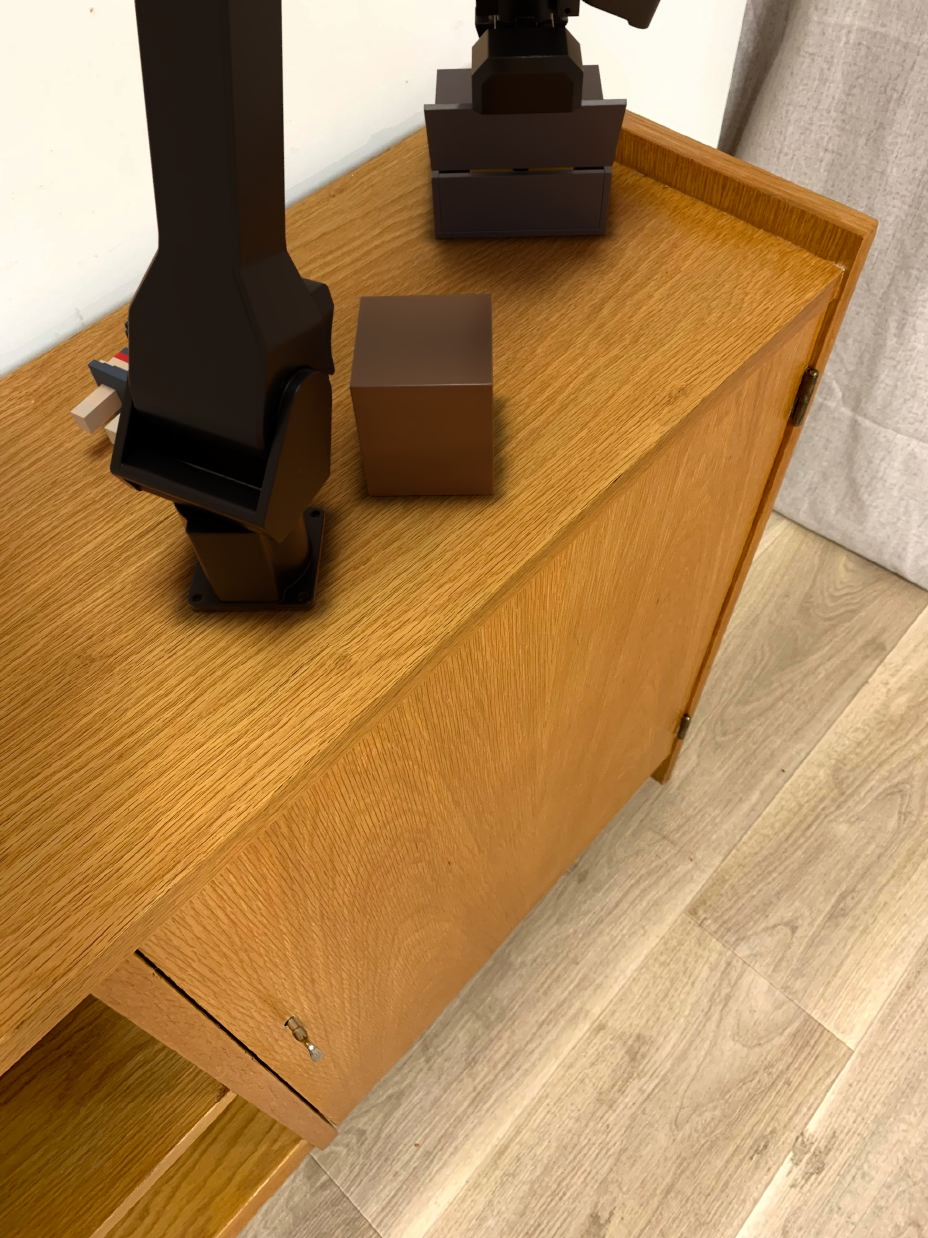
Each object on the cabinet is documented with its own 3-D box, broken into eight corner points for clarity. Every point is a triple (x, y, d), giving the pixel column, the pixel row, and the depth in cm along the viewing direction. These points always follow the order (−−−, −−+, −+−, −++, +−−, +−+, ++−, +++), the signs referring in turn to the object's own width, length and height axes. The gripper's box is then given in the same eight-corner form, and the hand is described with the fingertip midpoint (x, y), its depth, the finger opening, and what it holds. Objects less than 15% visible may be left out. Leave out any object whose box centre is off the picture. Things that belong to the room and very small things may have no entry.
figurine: (27, 380, 50) (200, 237, 57) (59, 434, 53) (218, 294, 60) (145, 434, 47) (311, 278, 54) (170, 488, 51) (323, 335, 58)
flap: (612, 160, 58) (612, 166, 58) (431, 165, 59) (431, 170, 59) (626, 98, 52) (627, 104, 52) (423, 103, 52) (423, 110, 52)
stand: (493, 494, 50) (492, 384, 43) (369, 496, 50) (348, 386, 43) (493, 406, 53) (492, 292, 47) (377, 408, 54) (359, 295, 47)
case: (605, 234, 63) (613, 161, 58) (435, 238, 63) (430, 165, 59) (592, 135, 70) (599, 63, 65) (440, 139, 70) (436, 68, 66)
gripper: (698, -67, 43) (652, 230, 56) (656, -195, 53) (625, 81, 66) (467, -59, 43) (475, 234, 56) (470, -188, 53) (476, 85, 67)
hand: (520, 152), depth 61 cm, fingers closed on duster, 4 cm apart
